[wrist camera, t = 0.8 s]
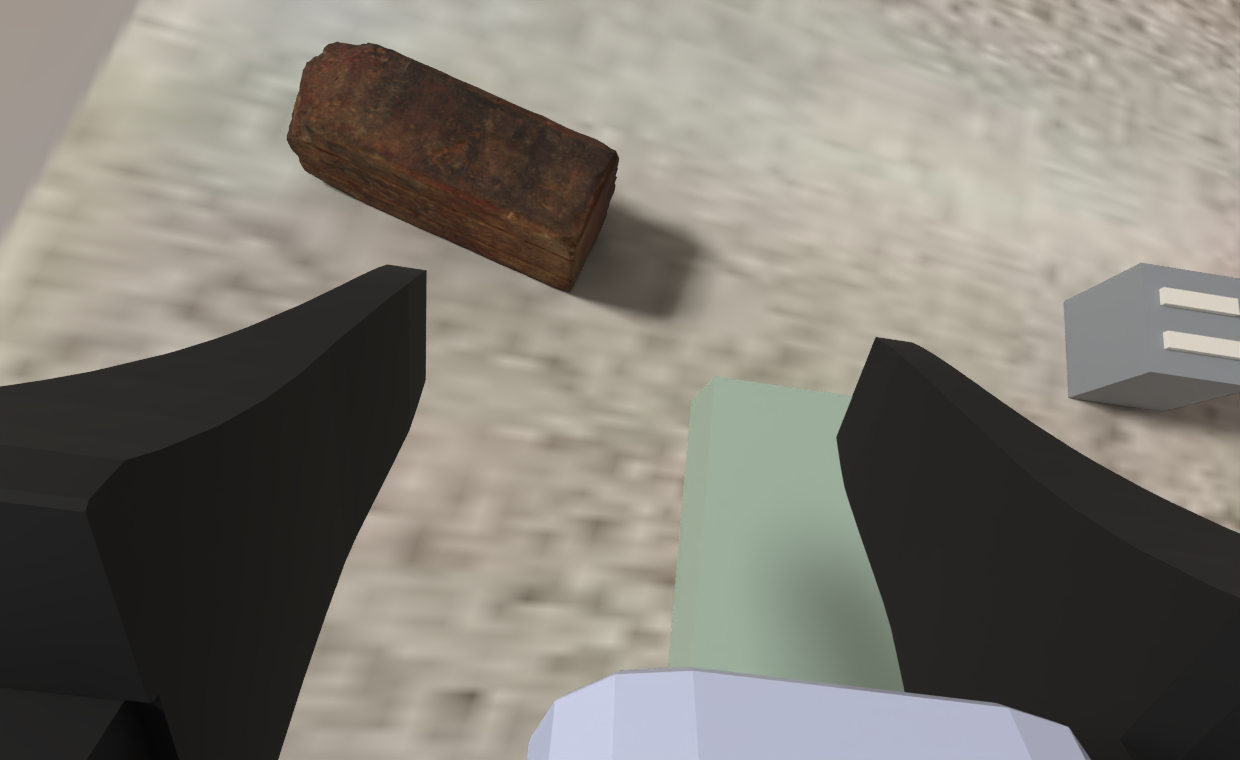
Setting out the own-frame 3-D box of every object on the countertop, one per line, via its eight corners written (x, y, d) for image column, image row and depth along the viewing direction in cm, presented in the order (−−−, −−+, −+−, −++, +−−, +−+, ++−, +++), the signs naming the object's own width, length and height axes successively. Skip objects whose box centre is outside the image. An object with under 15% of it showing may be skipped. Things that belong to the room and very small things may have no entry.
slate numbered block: (1161, 411, 29) (1263, 386, 25) (1067, 398, 29) (1155, 370, 25) (1153, 316, 30) (1250, 277, 26) (1062, 302, 30) (1145, 260, 26)
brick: (610, 212, 28) (625, 144, 24) (568, 299, 27) (576, 245, 23) (359, 100, 28) (326, 10, 24) (307, 182, 27) (262, 105, 23)
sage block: (948, 723, 25) (1022, 751, 21) (663, 694, 24) (687, 718, 21) (946, 439, 28) (1012, 418, 24) (688, 404, 27) (714, 376, 23)
